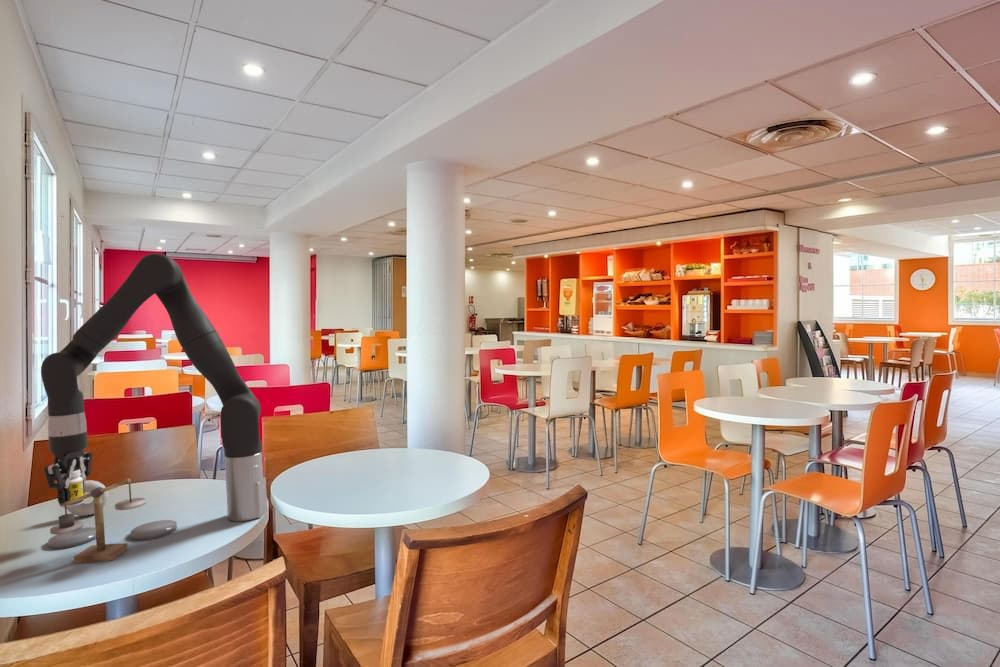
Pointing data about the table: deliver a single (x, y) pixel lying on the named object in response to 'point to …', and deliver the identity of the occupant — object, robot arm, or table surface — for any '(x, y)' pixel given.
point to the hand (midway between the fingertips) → (71, 499)
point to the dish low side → (72, 538)
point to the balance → (97, 525)
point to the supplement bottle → (75, 488)
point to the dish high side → (153, 530)
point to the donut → (88, 508)
